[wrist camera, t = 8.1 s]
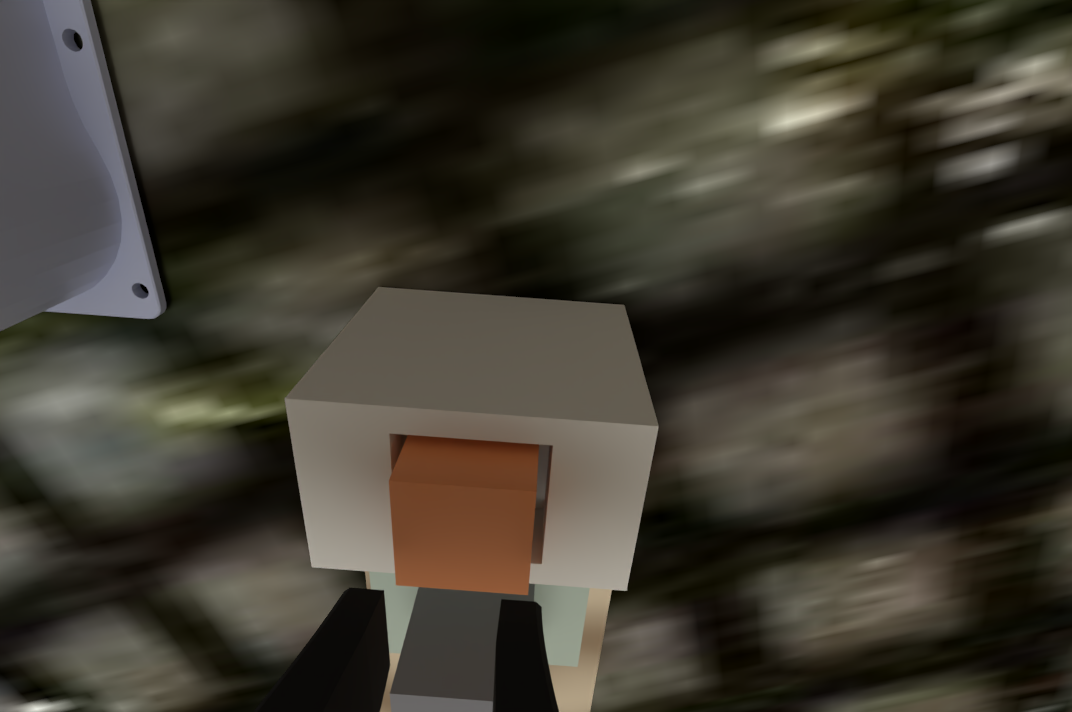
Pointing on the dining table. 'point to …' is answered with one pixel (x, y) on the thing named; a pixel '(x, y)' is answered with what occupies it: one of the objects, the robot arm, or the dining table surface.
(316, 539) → the end cabinet
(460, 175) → the dining table surface
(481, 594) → the carriage
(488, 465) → the button
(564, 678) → the rail bed
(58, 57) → the robot arm
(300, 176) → the dining table surface
